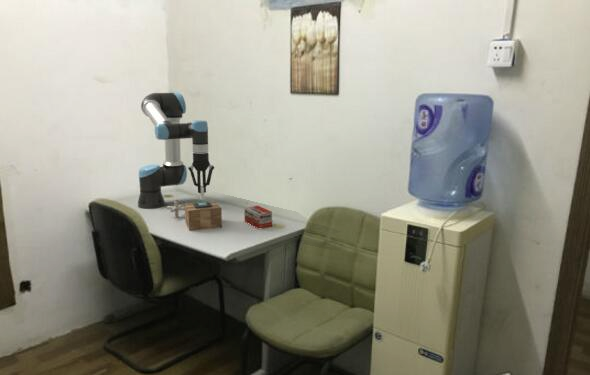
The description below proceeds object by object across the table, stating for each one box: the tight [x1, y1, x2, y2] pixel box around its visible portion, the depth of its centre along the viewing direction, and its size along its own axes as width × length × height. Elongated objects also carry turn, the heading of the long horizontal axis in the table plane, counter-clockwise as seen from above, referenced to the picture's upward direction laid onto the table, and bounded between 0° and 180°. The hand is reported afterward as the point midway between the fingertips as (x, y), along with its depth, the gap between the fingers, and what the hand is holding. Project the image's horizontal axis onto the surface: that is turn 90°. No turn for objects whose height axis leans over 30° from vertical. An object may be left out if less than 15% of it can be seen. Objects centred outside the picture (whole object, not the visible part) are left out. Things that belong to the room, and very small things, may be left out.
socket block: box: [184, 200, 223, 231], centre depth 229 cm, size 14×16×10 cm
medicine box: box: [244, 205, 273, 229], centre depth 231 cm, size 15×8×8 cm, turn 35°
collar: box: [192, 201, 212, 209], centre depth 228 cm, size 8×8×1 cm
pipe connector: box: [166, 198, 185, 219], centre depth 241 cm, size 10×10×10 cm
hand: (202, 199), depth 227 cm, fingers closed
